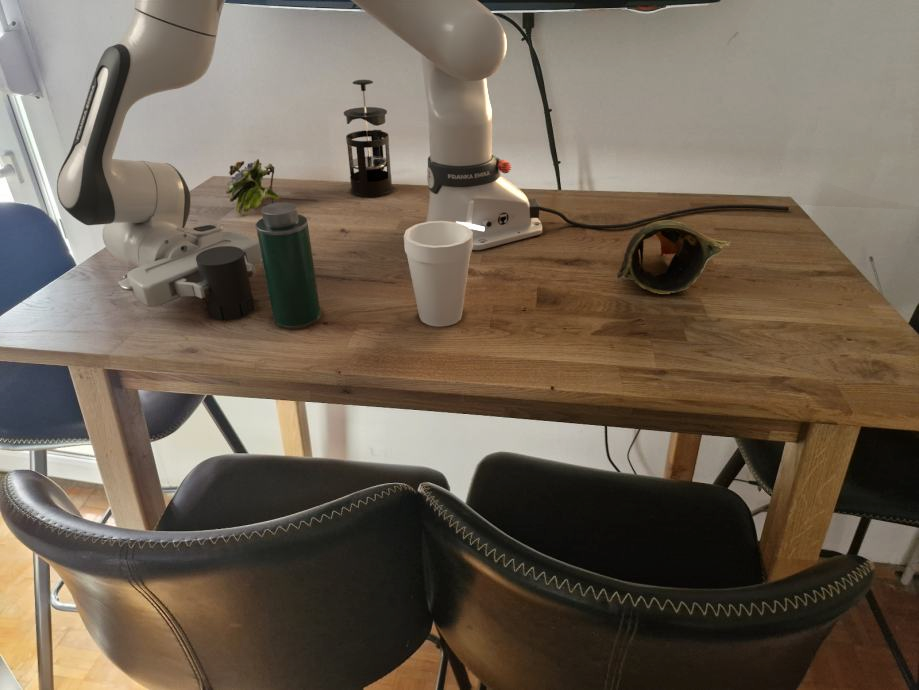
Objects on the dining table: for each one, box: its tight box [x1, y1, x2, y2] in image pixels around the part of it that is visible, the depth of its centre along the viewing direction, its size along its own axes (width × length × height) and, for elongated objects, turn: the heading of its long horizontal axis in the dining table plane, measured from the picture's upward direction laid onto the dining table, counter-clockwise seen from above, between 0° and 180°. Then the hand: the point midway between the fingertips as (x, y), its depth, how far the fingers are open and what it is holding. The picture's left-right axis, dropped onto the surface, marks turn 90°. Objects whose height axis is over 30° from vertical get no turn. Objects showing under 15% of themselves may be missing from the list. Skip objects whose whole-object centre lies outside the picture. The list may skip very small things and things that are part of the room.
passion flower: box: [225, 158, 281, 216], centre depth 134 cm, size 11×11×12 cm
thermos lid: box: [196, 246, 256, 322], centre depth 95 cm, size 7×7×9 cm
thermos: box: [255, 201, 322, 331], centre depth 91 cm, size 7×7×17 cm
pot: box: [616, 219, 734, 295], centre depth 104 cm, size 17×11×18 cm
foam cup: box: [403, 221, 473, 328], centre depth 92 cm, size 10×9×13 cm
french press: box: [343, 79, 394, 199], centre depth 138 cm, size 12×9×23 cm
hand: (229, 281), depth 95 cm, fingers closed on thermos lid, 6 cm apart
